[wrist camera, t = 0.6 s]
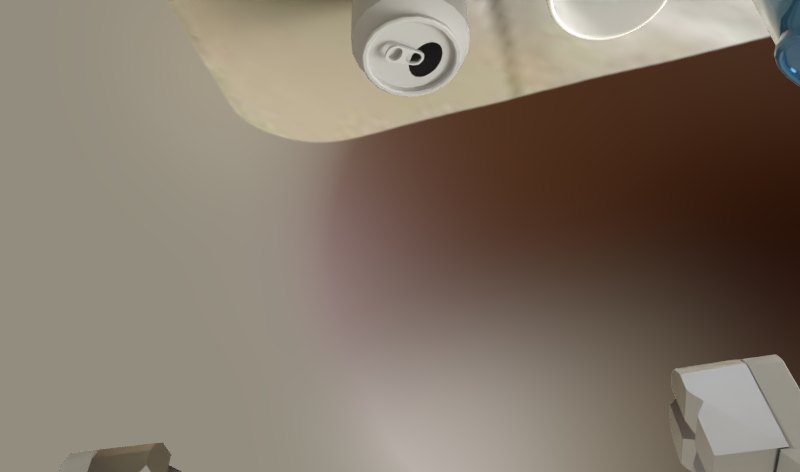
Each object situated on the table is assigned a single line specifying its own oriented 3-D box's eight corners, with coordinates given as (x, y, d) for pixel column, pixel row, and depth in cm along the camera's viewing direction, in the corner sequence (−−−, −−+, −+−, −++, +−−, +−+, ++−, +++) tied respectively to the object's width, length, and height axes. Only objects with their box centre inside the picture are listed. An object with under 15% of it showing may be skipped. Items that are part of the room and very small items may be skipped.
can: (427, 10, 58) (437, 120, 51) (336, -25, 55) (332, 85, 48) (476, -73, 53) (495, 36, 46) (378, -117, 50) (381, -8, 43)
